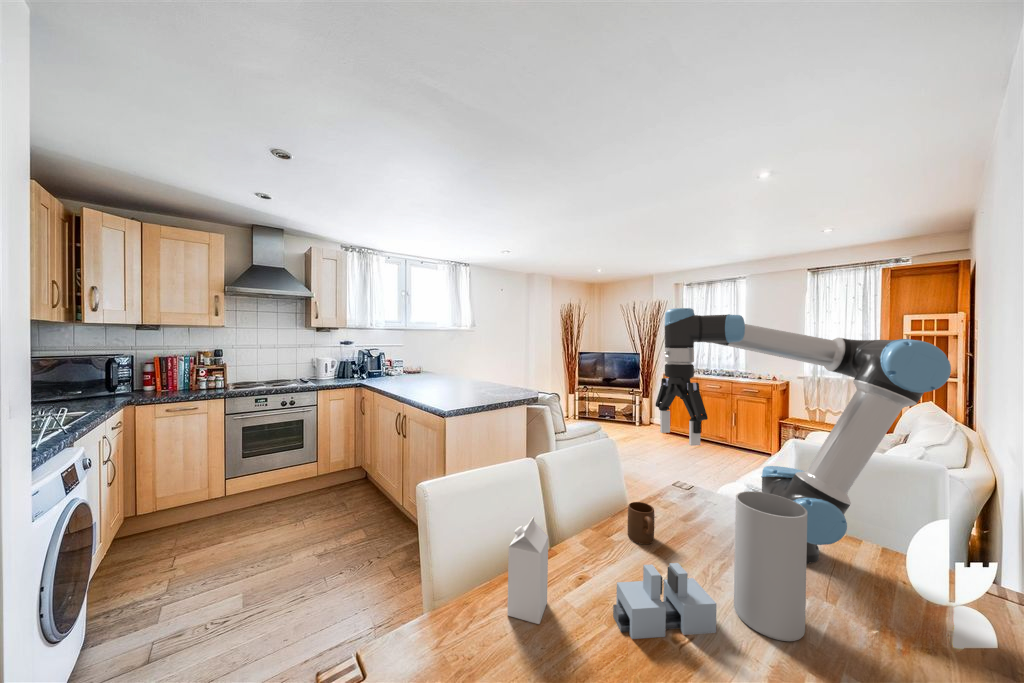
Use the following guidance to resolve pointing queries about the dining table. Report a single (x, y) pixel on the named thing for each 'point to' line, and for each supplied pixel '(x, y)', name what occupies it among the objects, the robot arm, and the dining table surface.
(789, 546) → the cylinder vase
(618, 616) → the rail
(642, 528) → the mug
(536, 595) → the milk carton
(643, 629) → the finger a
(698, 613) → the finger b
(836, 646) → the dining table surface
